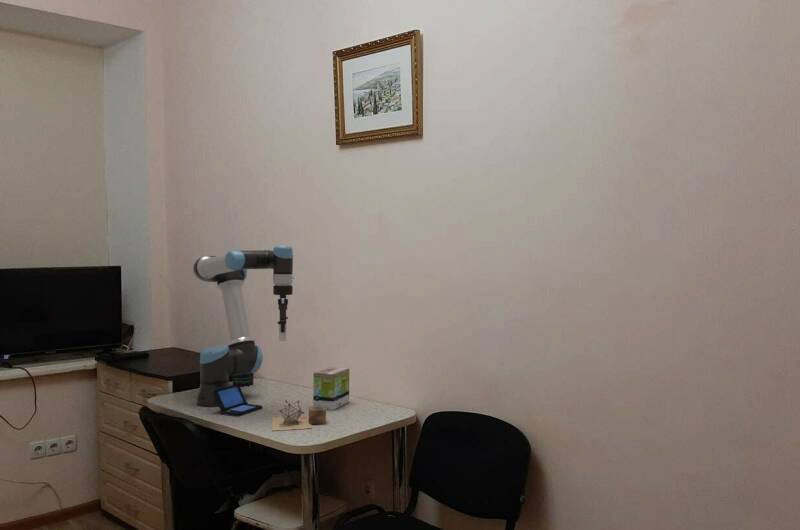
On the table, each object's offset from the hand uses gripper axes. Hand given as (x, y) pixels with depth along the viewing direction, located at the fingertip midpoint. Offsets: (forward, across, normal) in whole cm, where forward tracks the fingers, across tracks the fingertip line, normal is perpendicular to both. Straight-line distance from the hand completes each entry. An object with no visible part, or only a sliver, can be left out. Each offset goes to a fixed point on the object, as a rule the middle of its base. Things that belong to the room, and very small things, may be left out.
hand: (282, 338), depth 260 cm
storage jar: (+31, +58, +19) cm, 68 cm away
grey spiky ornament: (+29, -20, -4) cm, 35 cm away
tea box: (+29, +6, -20) cm, 36 cm away
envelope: (+29, -20, -3) cm, 35 cm away
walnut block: (+28, -20, -13) cm, 37 cm away
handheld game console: (+30, +5, +18) cm, 35 cm away
